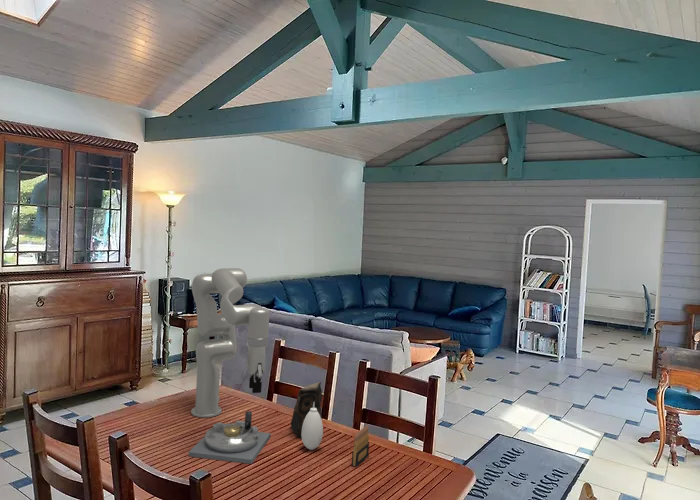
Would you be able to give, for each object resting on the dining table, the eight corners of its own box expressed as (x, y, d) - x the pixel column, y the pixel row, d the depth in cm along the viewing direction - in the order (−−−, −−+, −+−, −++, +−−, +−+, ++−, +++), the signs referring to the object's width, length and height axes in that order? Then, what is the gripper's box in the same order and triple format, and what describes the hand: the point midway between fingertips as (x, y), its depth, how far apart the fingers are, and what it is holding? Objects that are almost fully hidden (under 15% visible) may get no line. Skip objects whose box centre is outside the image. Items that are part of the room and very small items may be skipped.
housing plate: (214, 430, 199) (214, 426, 199) (270, 437, 196) (270, 432, 196) (188, 456, 176) (188, 451, 176) (251, 463, 173) (251, 459, 173)
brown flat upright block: (355, 467, 175) (358, 433, 175) (351, 466, 176) (353, 432, 176) (368, 456, 185) (370, 424, 184) (364, 454, 186) (366, 422, 185)
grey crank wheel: (228, 458, 173) (229, 432, 172) (194, 441, 184) (195, 417, 184) (268, 441, 188) (269, 417, 187) (235, 426, 199) (236, 404, 199)
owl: (320, 427, 209) (323, 379, 208) (323, 439, 196) (326, 389, 196) (290, 426, 207) (293, 379, 206) (290, 439, 195) (293, 389, 194)
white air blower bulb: (309, 442, 193) (312, 396, 193) (325, 448, 189) (328, 401, 188) (296, 449, 187) (299, 401, 186) (312, 455, 182) (315, 406, 182)
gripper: (243, 336, 192) (240, 383, 192) (252, 347, 176) (249, 398, 177) (262, 336, 195) (260, 382, 195) (273, 346, 179) (270, 397, 180)
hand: (255, 389), depth 186 cm, fingers open, 4 cm apart
